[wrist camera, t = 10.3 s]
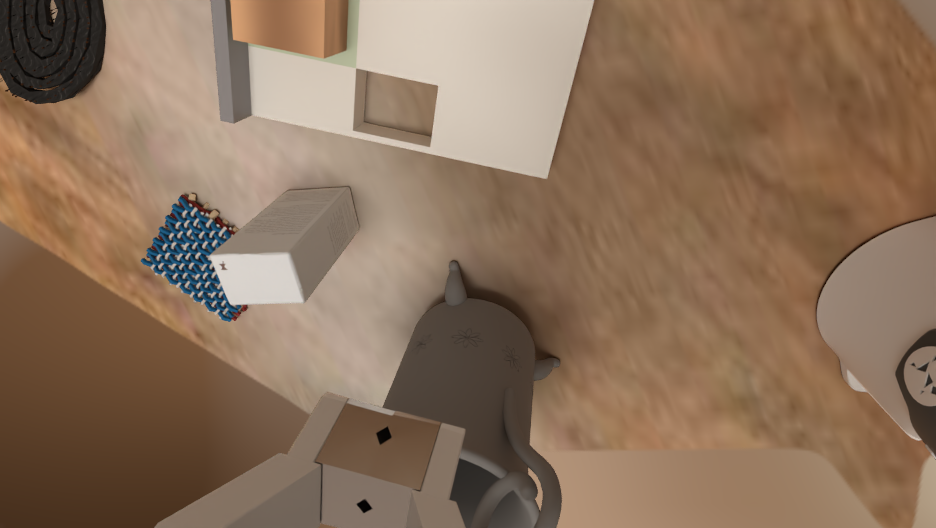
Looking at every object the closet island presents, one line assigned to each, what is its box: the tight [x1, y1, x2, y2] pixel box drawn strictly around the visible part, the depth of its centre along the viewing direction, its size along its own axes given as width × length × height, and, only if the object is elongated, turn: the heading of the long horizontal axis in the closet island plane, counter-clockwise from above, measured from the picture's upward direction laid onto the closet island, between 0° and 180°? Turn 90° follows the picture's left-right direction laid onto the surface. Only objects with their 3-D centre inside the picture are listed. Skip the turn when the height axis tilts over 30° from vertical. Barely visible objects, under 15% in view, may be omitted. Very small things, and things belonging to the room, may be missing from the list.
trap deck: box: [211, 0, 594, 179], centre depth 34 cm, size 24×18×5 cm
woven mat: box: [141, 194, 247, 322], centre depth 49 cm, size 10×11×2 cm
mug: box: [382, 261, 562, 528], centre depth 38 cm, size 19×15×25 cm
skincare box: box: [210, 187, 359, 305], centre depth 40 cm, size 6×4×12 cm
